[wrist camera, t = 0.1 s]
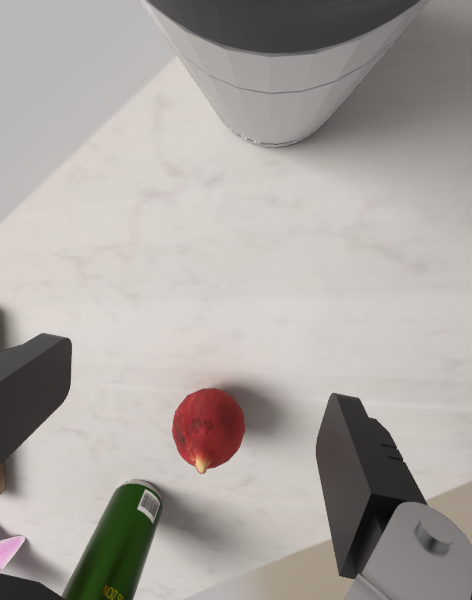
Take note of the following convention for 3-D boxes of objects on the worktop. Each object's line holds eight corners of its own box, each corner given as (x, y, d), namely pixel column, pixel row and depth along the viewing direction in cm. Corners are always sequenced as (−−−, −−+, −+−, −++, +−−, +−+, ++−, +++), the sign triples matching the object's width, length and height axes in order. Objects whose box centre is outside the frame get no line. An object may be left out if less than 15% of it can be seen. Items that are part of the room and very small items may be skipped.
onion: (173, 403, 31) (142, 472, 24) (205, 359, 29) (184, 418, 22) (224, 435, 32) (210, 512, 24) (259, 394, 30) (256, 463, 22)
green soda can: (133, 468, 34) (66, 608, 23) (174, 497, 35) (130, 646, 24) (106, 496, 36) (30, 639, 24) (146, 523, 37) (91, 674, 25)
